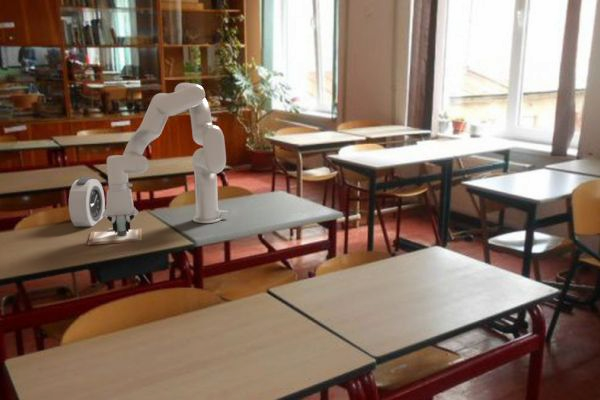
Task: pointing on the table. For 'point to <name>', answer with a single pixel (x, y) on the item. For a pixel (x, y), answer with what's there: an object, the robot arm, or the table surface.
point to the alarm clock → (86, 202)
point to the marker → (121, 225)
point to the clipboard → (114, 236)
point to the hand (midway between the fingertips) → (121, 230)
